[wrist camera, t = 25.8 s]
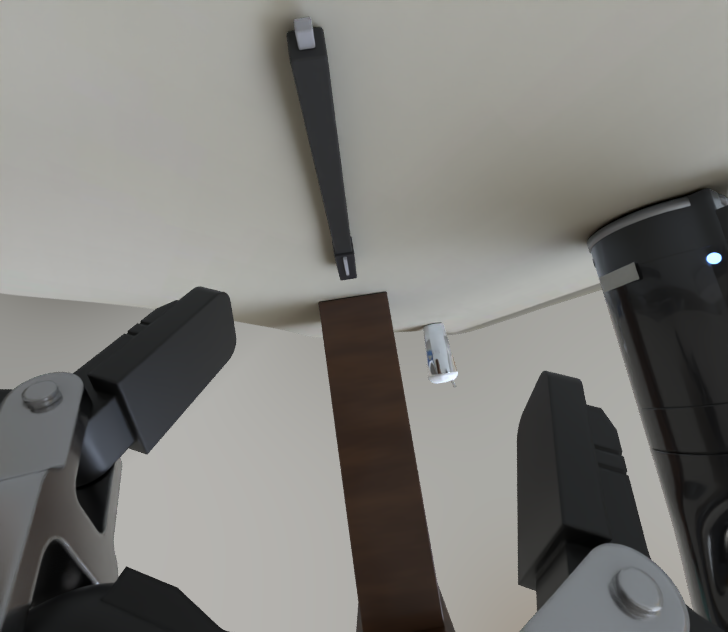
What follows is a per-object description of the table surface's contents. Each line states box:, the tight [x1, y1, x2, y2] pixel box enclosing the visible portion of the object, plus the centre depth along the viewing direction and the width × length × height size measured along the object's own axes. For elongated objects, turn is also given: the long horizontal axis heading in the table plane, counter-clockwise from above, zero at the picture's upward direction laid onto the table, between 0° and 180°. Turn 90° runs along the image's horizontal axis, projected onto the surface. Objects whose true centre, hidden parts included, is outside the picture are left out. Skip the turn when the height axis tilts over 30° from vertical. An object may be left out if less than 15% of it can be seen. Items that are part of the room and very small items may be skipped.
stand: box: [319, 292, 455, 632], centre depth 42 cm, size 15×8×32 cm, turn 1°
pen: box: [287, 17, 357, 280], centre depth 21 cm, size 21×1×2 cm, turn 1°
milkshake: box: [423, 323, 458, 387], centre depth 63 cm, size 4×5×10 cm
